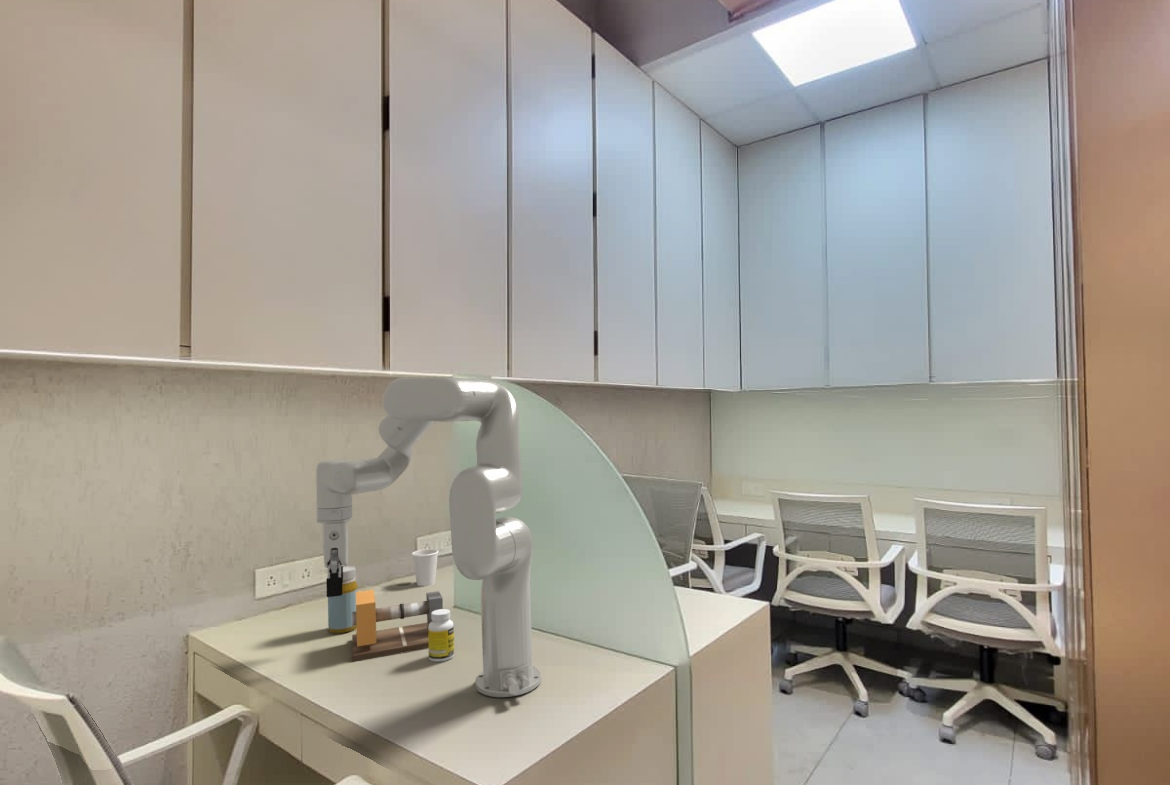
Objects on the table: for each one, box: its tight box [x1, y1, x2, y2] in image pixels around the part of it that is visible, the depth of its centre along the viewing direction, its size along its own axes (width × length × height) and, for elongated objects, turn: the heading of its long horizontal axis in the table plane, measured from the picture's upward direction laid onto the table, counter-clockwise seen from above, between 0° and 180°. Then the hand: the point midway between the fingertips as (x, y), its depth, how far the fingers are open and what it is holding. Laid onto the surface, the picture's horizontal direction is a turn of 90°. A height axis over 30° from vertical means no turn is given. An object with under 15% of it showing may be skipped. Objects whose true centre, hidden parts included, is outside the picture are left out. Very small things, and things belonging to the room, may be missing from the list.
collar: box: [356, 589, 377, 647], centre depth 135 cm, size 11×4×9 cm, turn 22°
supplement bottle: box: [428, 608, 455, 663], centre depth 127 cm, size 5×5×10 cm
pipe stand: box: [351, 590, 444, 662], centre depth 137 cm, size 14×20×10 cm
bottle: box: [327, 565, 359, 634], centre depth 148 cm, size 7×7×15 cm
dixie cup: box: [411, 548, 439, 587], centre depth 187 cm, size 8×8×10 cm
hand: (335, 590), depth 133 cm, fingers open, 9 cm apart
